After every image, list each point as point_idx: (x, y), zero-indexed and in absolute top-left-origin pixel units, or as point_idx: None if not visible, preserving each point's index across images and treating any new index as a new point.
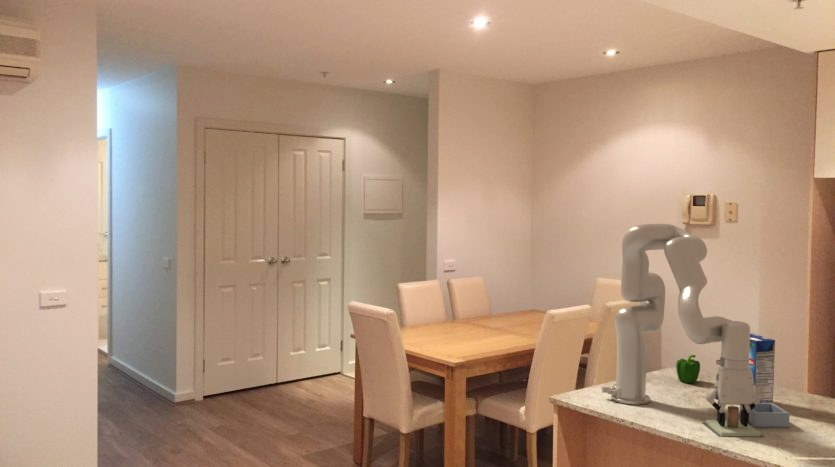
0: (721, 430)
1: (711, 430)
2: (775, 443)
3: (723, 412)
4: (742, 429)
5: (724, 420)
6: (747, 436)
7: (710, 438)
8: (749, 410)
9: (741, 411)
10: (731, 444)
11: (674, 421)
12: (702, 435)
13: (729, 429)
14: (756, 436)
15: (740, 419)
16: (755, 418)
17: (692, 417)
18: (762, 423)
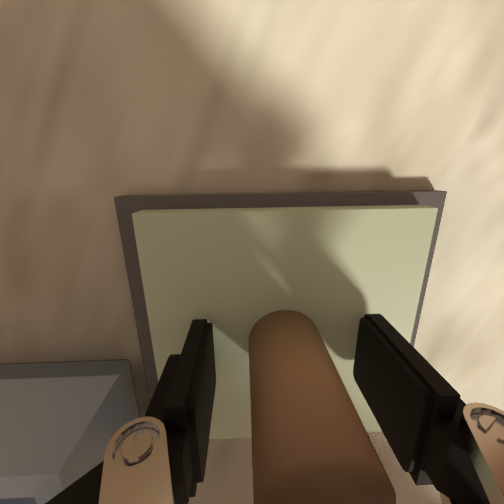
0: (409, 256)
1: (420, 307)
2: (67, 105)
3: (436, 418)
4: (243, 283)
5: (391, 340)
6: (238, 203)
7: (484, 196)
8: (125, 453)
9: (201, 469)
10: (414, 70)
11: None
12: (497, 250)
13: (339, 278)
14: (172, 207)
15: (213, 402)
16: (87, 423)
17: None
18: (57, 391)
